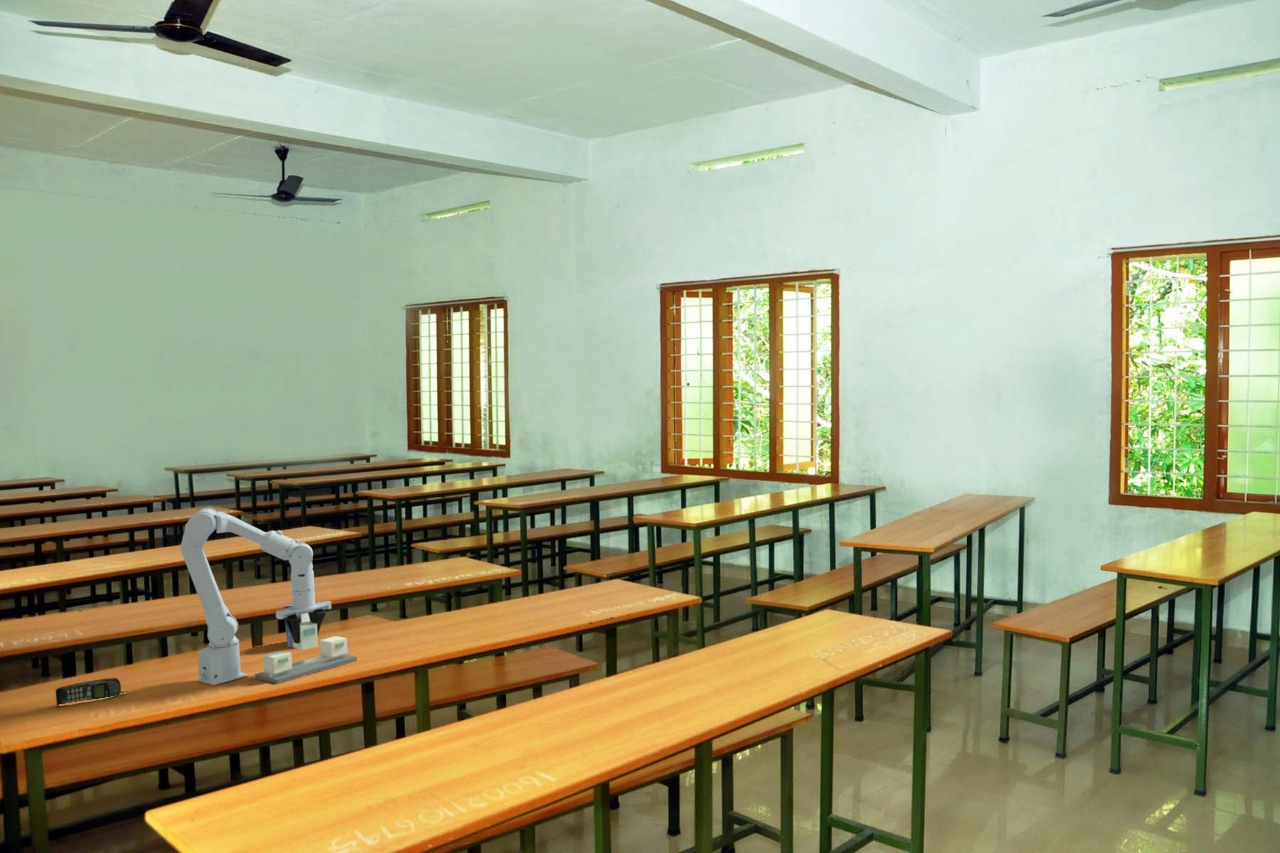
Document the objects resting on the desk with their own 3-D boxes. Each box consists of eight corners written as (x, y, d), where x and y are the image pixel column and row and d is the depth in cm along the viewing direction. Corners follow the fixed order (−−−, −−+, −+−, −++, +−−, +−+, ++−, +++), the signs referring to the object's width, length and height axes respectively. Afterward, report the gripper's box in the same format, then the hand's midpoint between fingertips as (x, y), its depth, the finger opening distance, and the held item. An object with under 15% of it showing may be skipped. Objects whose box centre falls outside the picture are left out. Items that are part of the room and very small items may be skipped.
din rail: (269, 678, 247) (269, 674, 247) (262, 676, 249) (261, 672, 249) (349, 655, 266) (349, 651, 266) (341, 653, 268) (341, 649, 268)
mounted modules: (275, 673, 247) (274, 658, 247) (263, 670, 250) (262, 655, 250) (348, 653, 264) (347, 638, 264) (336, 650, 268) (335, 636, 268)
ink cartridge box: (300, 638, 291) (298, 590, 291) (318, 638, 291) (316, 590, 290) (285, 647, 281) (282, 597, 281) (304, 647, 281) (301, 597, 280)
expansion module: (302, 650, 254) (301, 627, 254) (293, 647, 258) (291, 624, 257) (318, 646, 257) (317, 623, 257) (309, 643, 261) (307, 621, 261)
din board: (277, 683, 245) (277, 679, 245) (255, 678, 251) (254, 674, 251) (356, 660, 264) (356, 656, 264) (334, 655, 270) (334, 652, 270)
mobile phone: (55, 689, 232) (126, 676, 239) (55, 686, 234) (125, 673, 242) (57, 710, 232) (127, 696, 240) (57, 706, 235) (127, 692, 242)
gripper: (321, 583, 265) (323, 632, 265) (269, 592, 254) (272, 644, 255) (334, 586, 260) (336, 636, 260) (282, 596, 249) (285, 648, 250)
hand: (305, 640), depth 257 cm, fingers closed on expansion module, 4 cm apart
